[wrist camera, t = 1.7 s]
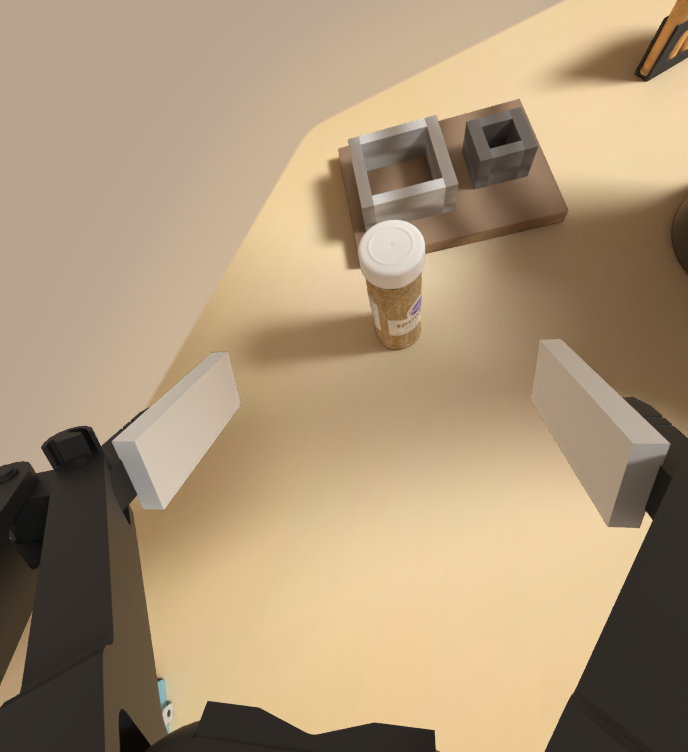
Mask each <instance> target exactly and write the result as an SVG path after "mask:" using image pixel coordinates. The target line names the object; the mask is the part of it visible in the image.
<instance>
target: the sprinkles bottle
mask: <svg viewBox="0 0 688 752" xmlns="http://www.w3.org/2000/svg"><path fill="white" fill-rule="evenodd" d="M358 256H359V262H360V267H361V271H362V273H363V275H364V277H365V279H366V283H367V292H368V296H369V301H370V306H371V310H372V314H373V319H374V322H375V325H376V334H377V337H378V339H379V340H380V341H381V343H382V344H384V345H385V346H386V347H388V348H391V349H403V348H407V347H409V346H410V345H412V344H413V343H414V342H415V341H416V340H417V339H418V337H419V335H420V332H421V323H420V317H421V300H422V294H421V279H422V278H421V274H422V269H423V266H424V262H425V242H424V238H423V236H422V234H421V232H420V231H419V230H418V229H417V228H416V227H415V226H414V225H412V224H410V223H408V222H406V221H401V220H387V221H383V222H380V223H378V224H376V225H374V226H372V227H371V228H370V229H369V230H368V231H366V233H365V234H364V235H363V237H362V238H361V240H360V243H359V247H358Z"/></svg>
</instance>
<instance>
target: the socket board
mask: <svg viewBox="0 0 688 752" xmlns="http://www.w3.org/2000/svg"><path fill="white" fill-rule="evenodd" d="M348 143H349V146H346V147H343V148H339V149H338V152H339V157H340V162H341V167H342V173H343V178H344V183H345V188H346V193H347V199H348V204H349V209H350V214H351V220H352V225H353V230H354V235H355V240H356V246H357V251H358V247H359V243H360V240H361V238H362V237H363V235H364V234H365V233H366V231H368V230H369V229H370V228H371V227H372V226H374V225H376V224H378V223H380V222H383V221H387V220H401V221H406V222H408V223H410V224H412V225H414V226H415V227H416V228H417V229H418V230H419V231H420V232H421V234H422V236H423V238H424V242H425V254H426V253H430V252H434V251H439V250H443V249H447V248H451V247H456V246H460V245H464V244H469V243H473V242H477V241H481V240H486V239H490V238H494V237H499V236H503V235H507V234H511V233H516V232H520V231H524V230H529V229H533V228H537V227H541V226H546V225H550V224H554V223H559V222H563V220H564V218H565V217H566V215H567V213H568V208H567V206H566V204H565V202H564V199H563V197H562V195H561V192H560V190H559V188H558V186H557V183H556V181H555V179H554V176H553V174H552V172H551V170H550V167H549V165H548V163H547V160H546V158H545V156H544V154H543V151H542V149H541V147H540V145H539V142H538V140H537V138H536V135H535V133H534V131H533V129H532V126H531V124H530V122H529V119H528V117H527V115H526V113H525V110H524V108H523V106H522V103H521V101H520V99H517V100H514V101H510V102H506V103H503V104H499V105H495V106H492V107H488V108H484V109H481V110H477V111H474V112H470V113H466V114H463V115H459V116H455V117H452V118H448V119H444V120H441V121H438V119H437V116H436V115H434V116H430V117H427V118H423V119H420V120H416V121H412V122H409V123H405V124H402V125H398V126H394V127H391V128H387V129H384V130H380V131H376V132H373V133H369V134H366V135H362V136H358V137H355V138H351V139H348Z"/></svg>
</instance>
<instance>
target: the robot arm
mask: <svg viewBox="0 0 688 752" xmlns="http://www.w3.org/2000/svg"><path fill="white" fill-rule="evenodd" d="M672 240H673V246H674V249H675V252H676V254H677V257H678V259H679V260H680V262H681V264H682V265H683V267H684V268H685V270H686V271H687V272H688V198H687V199H686V200H685V201H684V202H683V203H682V205H681V206H680V208H679V209H678V211H677V213H676V215H675V218H674V221H673V226H672ZM531 401H532V403H533V405H534V406H535V408H536V410H537V411H538V413H539V415H540V416H541V418H542V419H543V421H544V423H545V424H546V426H547V428H548V429H549V431H550V433H551V434H552V436H553V438H554V439H555V441H556V443H557V444H558V446H559V447H560V449H561V451H562V452H563V454H564V456H565V457H566V459H567V461H568V462H569V464H570V466H571V467H572V469H573V471H574V472H575V474H576V475H577V477H578V479H579V480H580V482H581V484H582V485H583V487H584V489H585V490H586V492H587V494H588V495H589V497H590V499H591V500H592V502H593V504H594V505H595V507H596V508H597V510H598V512H599V513H600V515H601V517H602V518H603V520H604V522H605V523H606V525H607V527H626V528H640V525H641V523H642V520H643V517H644V515H645V512H647V513H648V514H649V516H650V517H651V518H652V520H653V521H652V523H651V526H650V528H649V530H648V532H647V534H646V537H645V539H644V541H643V543H642V545H641V547H640V550H639V552H638V554H637V556H636V558H635V561H634V563H633V565H632V567H631V569H630V572H629V574H628V576H627V578H626V580H625V582H624V585H623V587H622V589H621V591H620V593H619V596H618V598H617V600H616V602H615V604H614V607H613V609H612V611H611V613H610V615H609V617H608V620H607V622H606V624H605V626H604V628H603V631H602V633H601V635H600V637H599V639H598V641H597V644H596V646H595V648H594V650H593V652H592V655H591V657H590V659H589V661H588V663H587V666H586V668H585V670H584V672H583V674H582V676H581V679H580V681H579V683H578V685H577V687H576V689H575V691H574V693H573V694H572V695H571V697H570V699H569V700H568V702H567V705H566V707H565V709H564V711H563V713H562V715H561V717H560V719H559V722H558V724H557V726H556V728H555V730H554V732H553V735H552V737H551V739H550V741H549V743H548V745H547V748H546V750H545V752H688V438H687V437H686V436H685V435H683V434H682V433H681V432H680V431H679V430H678V429H677V428H675V427H674V426H672V424H671V423H670V422H669V421H668V420H666V419H665V418H662V415H661V414H660V413H658V412H657V411H656V410H655V409H654V408H653V407H652V406H650V405H648V404H646V403H644V402H642V401H640V400H638V399H636V398H634V397H626V398H622V397H621V396H620V395H619V394H618V393H617V392H616V391H615V390H614V389H613V388H612V387H611V386H610V385H609V384H607V383H606V382H605V381H604V380H603V379H602V378H601V377H600V376H599V375H598V374H597V373H596V372H595V371H594V370H593V369H592V368H591V367H590V366H589V365H588V364H587V363H586V362H584V361H583V360H582V359H581V358H580V357H579V356H578V355H577V354H576V353H575V352H574V351H573V350H572V349H571V348H570V347H569V346H568V345H567V344H566V343H565V342H564V341H563V340H561V339H544V340H540V341H539V348H538V355H537V361H536V368H535V375H534V382H533V388H532V395H531ZM240 405H241V401H240V397H239V393H238V389H237V385H236V381H235V377H234V374H233V370H232V366H231V362H230V358H229V354H228V352H212V353H211V354H210V355H209V356H208V357H206V358H205V359H204V360H203V361H202V362H201V363H200V364H198V365H197V366H196V367H195V368H194V369H193V370H192V371H191V372H189V373H188V374H187V375H186V376H185V377H184V378H183V379H182V380H180V381H179V382H178V383H177V384H176V385H175V386H174V387H172V388H171V389H170V390H169V391H168V392H167V393H166V394H165V395H163V396H162V397H161V398H160V399H159V400H158V401H157V402H155V403H154V404H153V405H152V406H151V407H149V408H147V409H145V410H143V411H142V412H140V413H139V414H138V415H137V416H135V417H134V418H133V419H132V420H131V422H128V423H127V424H126V425H125V426H124V427H123V429H120V430H119V431H118V432H117V433H116V434H115V435H113V436H112V437H111V438H110V439H109V440H108V441H107V442H105V443H104V444H103V445H102V446H101V445H100V443H99V442H98V439H97V437H96V436H95V433H94V431H93V429H92V428H91V427H88V426H78V427H74V428H70V429H67V430H65V431H62V432H59V433H58V434H56V435H54V436H52V437H50V438H49V439H48V440H47V441H46V442H44V444H43V445H42V447H41V448H42V450H43V452H44V454H45V455H46V457H47V459H48V460H49V462H50V464H51V466H52V467H53V469H54V470H51V471H46V472H41V473H35V471H34V469H33V468H32V466H31V464H30V463H29V462H23V461H22V462H15V463H11V464H8V465H3V466H1V467H0V684H1V682H2V680H3V677H4V675H5V673H6V670H7V668H8V666H9V663H10V661H11V659H12V657H13V654H14V652H15V650H16V647H17V645H18V643H19V640H20V638H21V636H22V633H23V631H24V629H25V627H26V624H27V622H28V620H29V617H30V615H31V613H32V610H33V613H32V620H31V627H30V633H29V640H28V647H27V654H26V660H25V667H24V674H23V681H22V687H21V691H20V694H19V695H17V696H15V697H13V698H11V699H10V700H8V701H6V702H4V704H3V705H2V706H1V708H0V752H440V751H438V750H436V746H435V730H428V729H421V728H413V727H405V726H397V725H390V724H382V723H370V724H365V725H360V726H356V727H351V728H346V729H341V730H337V731H332V732H327V733H322V734H317V735H312V734H308V733H306V732H304V731H302V730H300V729H298V728H296V727H294V726H293V725H291V724H289V723H287V722H285V721H283V720H281V719H279V718H277V717H276V716H274V715H272V714H270V713H268V712H266V711H264V710H262V709H261V708H258V707H250V706H243V705H235V704H227V703H219V702H212V701H207V704H206V706H205V709H204V712H203V714H202V717H201V720H200V721H197V722H194V723H191V724H188V725H186V726H183V727H181V728H179V729H177V730H175V731H173V732H171V733H169V734H168V732H167V729H166V726H165V723H164V719H163V715H162V710H161V703H160V696H159V689H158V682H157V675H156V668H155V661H154V655H153V648H152V641H151V634H150V627H149V620H148V613H147V606H146V599H145V592H144V585H143V578H142V571H141V564H140V557H139V550H138V543H137V536H136V530H135V523H134V516H133V512H132V509H131V507H130V505H129V504H130V503H131V502H132V501H133V499H134V498H135V497H136V496H137V497H138V499H139V502H140V504H141V506H142V508H143V509H151V510H164V509H165V508H166V507H167V505H168V504H169V503H170V501H171V500H172V498H173V497H174V496H175V494H176V493H177V492H178V490H179V489H180V487H181V486H182V485H183V483H184V482H185V481H186V479H187V478H188V477H189V475H190V474H191V472H192V471H193V470H194V468H195V467H196V466H197V464H198V463H199V461H200V460H201V459H202V457H203V456H204V455H205V453H206V452H207V450H208V449H209V448H210V446H211V445H212V444H213V442H214V441H215V440H216V438H217V437H218V435H219V434H220V433H221V431H222V430H223V429H224V427H225V426H226V424H227V423H228V422H229V420H230V419H231V418H232V416H233V415H234V413H235V412H236V411H237V409H238V408H239V407H240ZM10 538H11V539H10Z"/></svg>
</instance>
